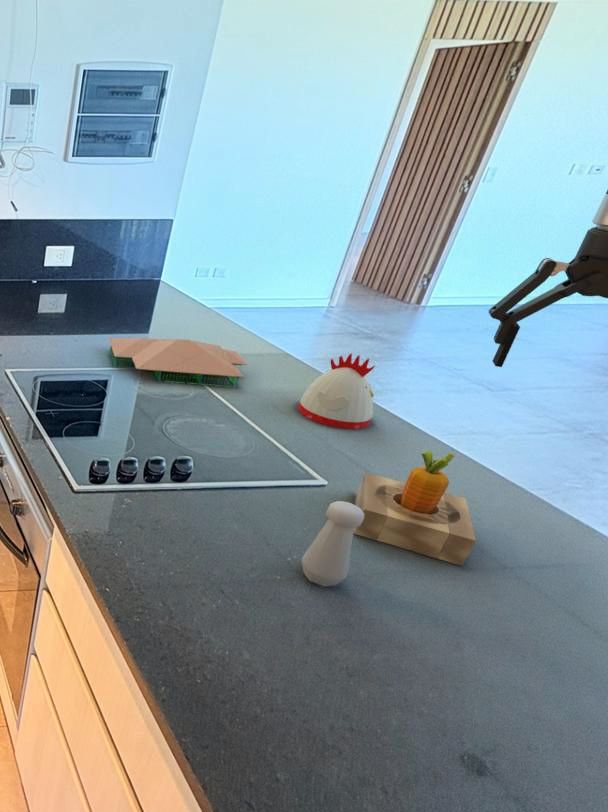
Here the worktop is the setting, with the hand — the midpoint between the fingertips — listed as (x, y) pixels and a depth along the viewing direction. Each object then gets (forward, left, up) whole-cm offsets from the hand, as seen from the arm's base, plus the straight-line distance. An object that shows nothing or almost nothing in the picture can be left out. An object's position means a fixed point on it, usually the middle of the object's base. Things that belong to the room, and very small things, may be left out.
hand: (556, 373), depth 93 cm
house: (+59, -44, -28) cm, 79 cm away
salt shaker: (+21, +32, -28) cm, 48 cm away
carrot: (+10, +9, -28) cm, 31 cm away
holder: (+10, +9, -28) cm, 31 cm away
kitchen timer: (+22, -35, -28) cm, 50 cm away
